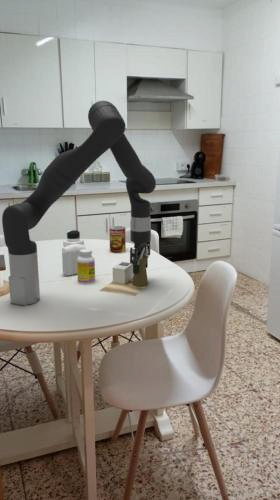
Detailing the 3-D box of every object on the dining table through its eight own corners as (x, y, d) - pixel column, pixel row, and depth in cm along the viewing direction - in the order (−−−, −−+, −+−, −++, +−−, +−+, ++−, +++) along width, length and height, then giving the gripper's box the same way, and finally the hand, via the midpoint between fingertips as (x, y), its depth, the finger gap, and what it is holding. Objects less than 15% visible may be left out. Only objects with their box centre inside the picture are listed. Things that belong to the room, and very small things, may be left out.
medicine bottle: (84, 254, 197) (83, 230, 194) (74, 258, 191) (73, 233, 188) (73, 252, 201) (72, 228, 198) (63, 255, 195) (62, 231, 192)
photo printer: (84, 270, 174) (83, 241, 170) (88, 272, 170) (87, 243, 167) (61, 274, 168) (59, 245, 165) (65, 277, 165) (64, 247, 161)
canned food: (107, 252, 201) (106, 228, 198) (113, 248, 208) (112, 225, 205) (122, 253, 199) (122, 229, 196) (127, 249, 206) (127, 226, 203)
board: (134, 297, 143) (134, 295, 143) (99, 292, 148) (99, 290, 148) (152, 282, 158) (152, 281, 158) (119, 278, 163) (119, 276, 163)
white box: (124, 284, 154) (124, 268, 153) (112, 282, 156) (112, 266, 155) (133, 278, 161) (133, 262, 160) (121, 276, 163) (121, 261, 162)
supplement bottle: (90, 286, 154) (89, 253, 151) (74, 284, 156) (73, 251, 153) (98, 280, 160) (97, 249, 157) (83, 278, 162) (82, 247, 159)
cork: (142, 288, 150) (142, 259, 148) (129, 285, 153) (128, 256, 151) (151, 283, 155) (151, 255, 153) (137, 280, 158) (137, 253, 156)
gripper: (142, 233, 142) (142, 277, 146) (156, 225, 155) (156, 266, 159) (123, 231, 145) (123, 275, 149) (138, 224, 157) (138, 264, 161)
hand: (140, 270), depth 154 cm, fingers open, 8 cm apart
